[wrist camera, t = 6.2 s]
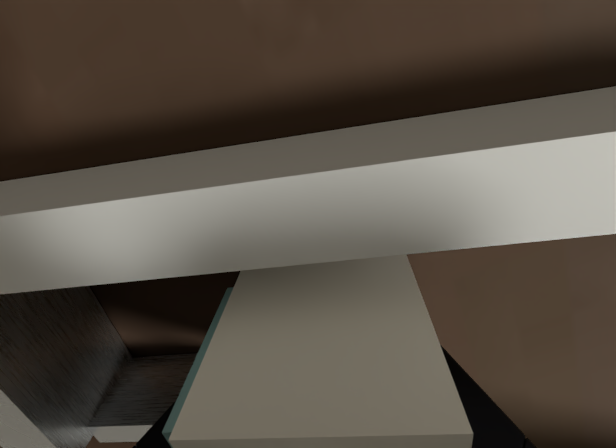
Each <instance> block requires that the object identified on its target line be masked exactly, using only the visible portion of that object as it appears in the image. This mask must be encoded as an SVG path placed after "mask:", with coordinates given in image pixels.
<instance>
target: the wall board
mask: <svg viewBox="0 0 616 448" xmlns="http://www.w3.org/2000/svg"><path fill="white" fill-rule="evenodd" d="M608 234H616V86H614V87H608V88H602V89H595V90H589V91H582V92H576V93H569V94H563V95H556V96H550V97H543V98H537V99H531V100H524V101H518V102H511V103H505V104H498V105H492V106H485V107H479V108H472V109H466V110H460V111H453V112H447V113H440V114H434V115H427V116H421V117H414V118H408V119H402V120H395V121H389V122H382V123H376V124H369V125H363V126H356V127H350V128H343V129H337V130H331V131H324V132H318V133H311V134H305V135H298V136H292V137H285V138H279V139H272V140H266V141H260V142H253V143H247V144H240V145H234V146H227V147H221V148H214V149H208V150H202V151H195V152H189V153H182V154H176V155H169V156H163V157H156V158H150V159H143V160H137V161H131V162H124V163H118V164H111V165H105V166H98V167H92V168H85V169H79V170H73V171H66V172H60V173H53V174H47V175H40V176H34V177H27V178H21V179H14V180H8V181H2V182H0V294H10V293H20V292H30V291H40V290H50V289H60V288H70V287H81V286H91V285H101V284H111V283H121V282H131V281H141V280H151V279H162V278H172V277H182V276H192V275H202V274H212V273H222V272H233V271H243V270H253V269H263V268H273V267H283V266H293V265H304V264H314V263H324V262H334V261H344V260H354V259H364V258H374V257H385V256H395V255H405V254H415V253H425V252H435V251H445V250H456V249H466V248H476V247H486V246H496V245H506V244H516V243H526V242H537V241H547V240H557V239H567V238H577V237H587V236H597V235H608Z"/></svg>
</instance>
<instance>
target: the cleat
mask: <svg viewBox="0 0 616 448" xmlns="http://www.w3.org/2000/svg"><path fill="white" fill-rule="evenodd" d="M197 354H198V353H193V354H177V355H161V356H146V357H132V355H131V354H130V352H129V351H128V349H127V347H126V346H125V344H124V342H123V341H122V339H121V338H120V336H119V334H118V333H117V331H116V329H115V328H114V326H113V324H112V323H111V321H110V320H109V318H108V316H107V315H106V313H105V311H104V310H103V308H102V307H101V305H100V303H99V302H98V300H97V298H96V297H95V295H94V294H93V292H92V290H91V289H90V287H89V286H81V287H70V288H60V289H50V290H40V291H30V292H20V293H10V294H0V446H1V447H2V448H85V447H86V446H87V444H88V443H89V441H90V439H91V438H92V436H93V435H94V436H95V438H96V439H97V440H98V441H99V442H138V441H139V440H140V439H141V438H142V437H143V436H144V434H145V433H146V432H147V431H148V430H149V429H150V428H151V427H152V426H153V425H154V423H155V422H156V421H157V420H158V419H159V418H160V417H161V416H162V415H163V414H164V412H165V411H166V410H167V409H168V408H169V407H170V406H171V405H172V404H173V402H174V401H175V400H176V399H177V398H178V396H179V393H180V391H181V389H182V387H183V385H184V382H185V380H186V378H187V376H188V374H189V371H190V369H191V367H192V365H193V363H194V360H195V358H196V356H197Z"/></svg>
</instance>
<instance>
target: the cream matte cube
mask: <svg viewBox="0 0 616 448" xmlns="http://www.w3.org/2000/svg"><path fill="white" fill-rule="evenodd" d="M162 434H163V435H164V437H165V438H166V440H167V442H168V443H169V445H170V446H171V448H472V441H473V431H472V429H471V426H470V423H469V421H468V418H467V415H466V413H465V410H464V407H463V405H462V402H461V399H460V397H459V394H458V391H457V389H456V386H455V383H454V381H453V378H452V375H451V373H450V370H449V367H448V365H447V362H446V359H445V357H444V354H443V351H442V349H441V346H440V343H439V340H438V338H437V335H436V332H435V330H434V327H433V324H432V322H431V319H430V316H429V314H428V311H427V308H426V306H425V303H424V300H423V298H422V295H421V292H420V290H419V287H418V284H417V282H416V279H415V276H414V274H413V271H412V268H411V266H410V263H409V260H408V258H407V255H406V254H405V255H395V256H385V257H374V258H364V259H354V260H344V261H334V262H324V263H314V264H304V265H293V266H283V267H273V268H263V269H253V270H243V271H240V274H239V276H238V278H237V281H236V283H235V285H234V287H230V288H227V290H226V292H225V294H224V296H223V299H222V301H221V303H220V305H219V307H218V310H217V312H216V314H215V316H214V318H213V321H212V323H211V325H210V327H209V330H208V332H207V334H206V336H205V338H204V341H203V343H202V345H201V347H200V349H199V352H198V354H197V356H196V358H195V360H194V363H193V365H192V367H191V369H190V371H189V374H188V376H187V378H186V380H185V382H184V385H183V387H182V389H181V391H180V393H179V396H178V398H177V400H176V402H175V405H174V407H173V409H172V411H171V413H170V416H169V418H168V420H167V422H166V424H165V427H164V429H163V431H162Z"/></svg>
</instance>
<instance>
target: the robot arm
mask: <svg viewBox="0 0 616 448" xmlns="http://www.w3.org/2000/svg"><path fill="white" fill-rule="evenodd" d="M440 346H441V345H440ZM441 349H442V351H443V354H444V357H445V359H446V362H447V365H448V367H449V370H450V373H451V375H452V378H453V381H454V383H455V386H456V389H457V391H458V394H459V397H460V399H461V402H462V405H463V407H464V410H465V413H466V415H467V418H468V421H469V423H470V426H471V429H472V431H473V441H472V448H537V447H536V446H535V445H534V444H533V443H532V442H531V441H530V440H529V439H528V438H526V439H525V435H524V434H523V433H522V431H521V430H520V429H519V428H518V427H517V426H516V425H515V424H514V423H513V422H512V421H511V420H510V419H509V418H508V417H507V415H506V414H505V413H504V412H503V411H502V410H501V409H500V408H499V407H498V406H497V405H496V404H495V403H494V402H493V400H492V399H491V398H490V397H489V396H488V395H487V394H486V393H485V392H484V391H483V390H482V389H481V388H480V387H479V386H478V384H477V383H476V382H475V381H474V380H473V379H472V378H471V377H470V376H469V375H468V374H467V373H466V372H465V371H464V369H463V368H462V367H461V366H460V365H459V364H458V363H457V362H456V361H455V360H454V359H453V358H452V357H451V356H450V355H449V353H448V352H447V351H446V350H445V349H444V348H443V347H442V346H441ZM176 400H177V399H176ZM176 400H175V401H174V402H173V404H172V405H171V406H170V407H169V408H168V409H167V410H166V411H165V412H164V414H163V415H162V416H161V417H160V418H159V419H158V420H157V421H156V422H155V423H154V425H153V426H152V427H151V428H150V429H149V430H148V431H147V432H146V433H145V434H144V436H143V437H142V438H141V439H140V440H139V441H138V442H137V444H136V446H133V448H171V446H170V445H169V443H168V442H167V440H166V438H165V437H164V435H163V434H162V431H163V429H164V427H165V424H166V422H167V420H168V418H169V416H170V413H171V411H172V409H173V407H174V405H175V402H176Z"/></svg>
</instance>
